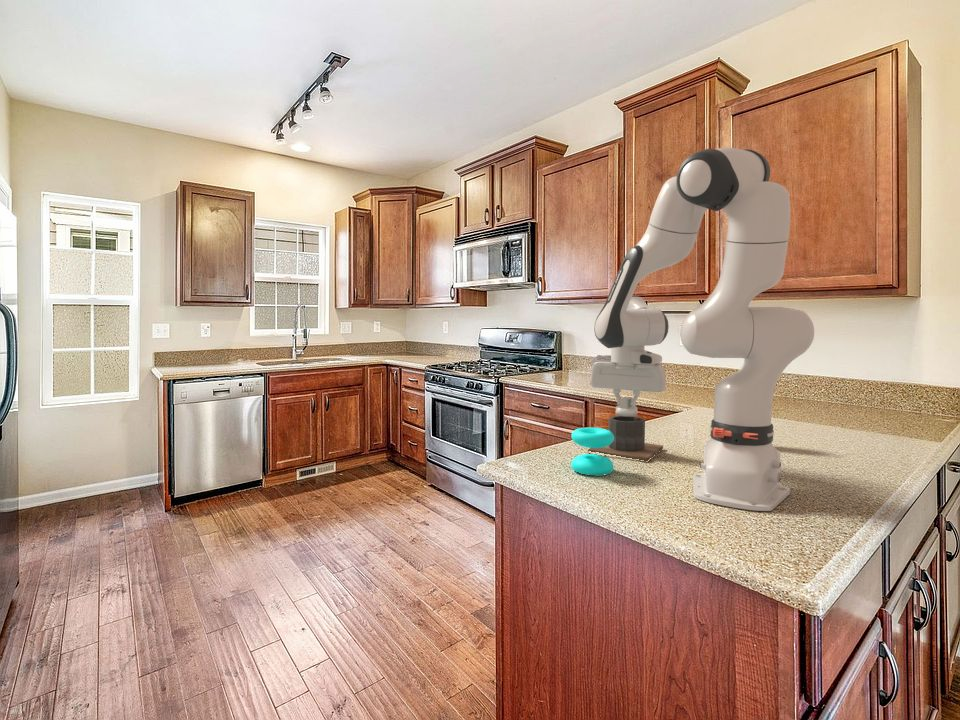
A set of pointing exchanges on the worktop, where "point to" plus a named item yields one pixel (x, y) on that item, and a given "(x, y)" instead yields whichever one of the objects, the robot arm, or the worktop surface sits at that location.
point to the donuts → (592, 462)
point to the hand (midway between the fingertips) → (626, 405)
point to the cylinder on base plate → (629, 439)
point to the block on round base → (626, 408)
